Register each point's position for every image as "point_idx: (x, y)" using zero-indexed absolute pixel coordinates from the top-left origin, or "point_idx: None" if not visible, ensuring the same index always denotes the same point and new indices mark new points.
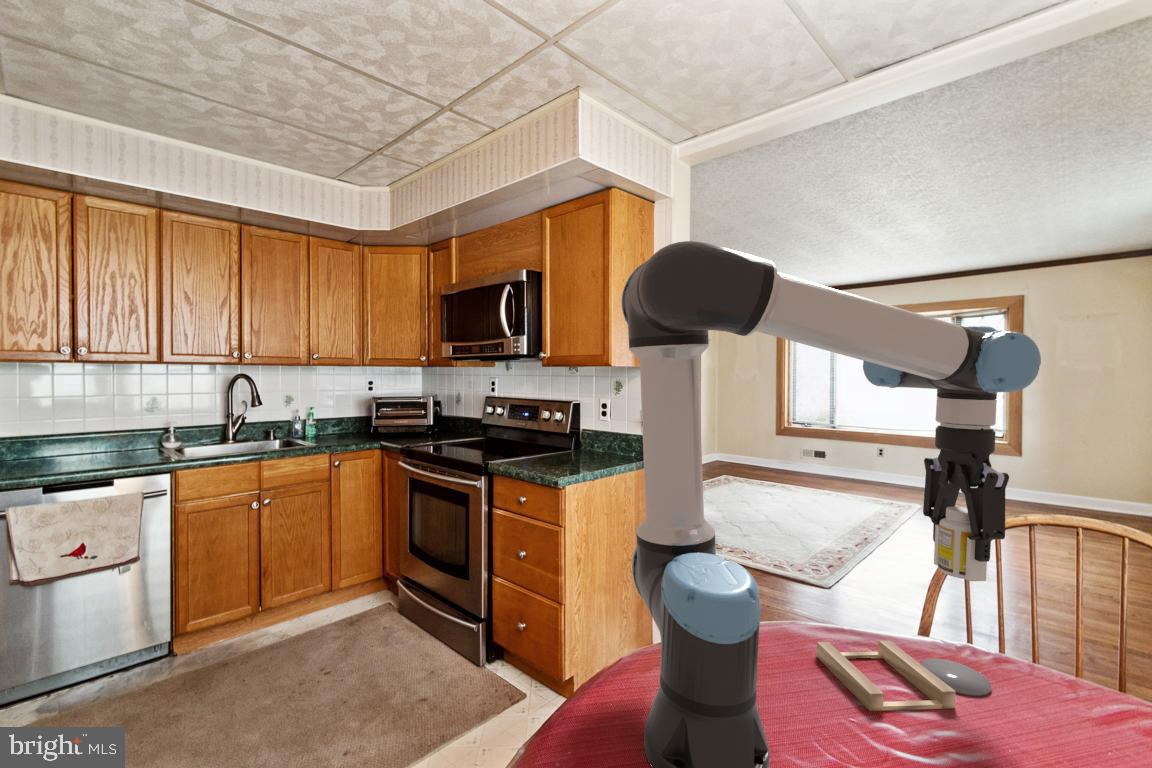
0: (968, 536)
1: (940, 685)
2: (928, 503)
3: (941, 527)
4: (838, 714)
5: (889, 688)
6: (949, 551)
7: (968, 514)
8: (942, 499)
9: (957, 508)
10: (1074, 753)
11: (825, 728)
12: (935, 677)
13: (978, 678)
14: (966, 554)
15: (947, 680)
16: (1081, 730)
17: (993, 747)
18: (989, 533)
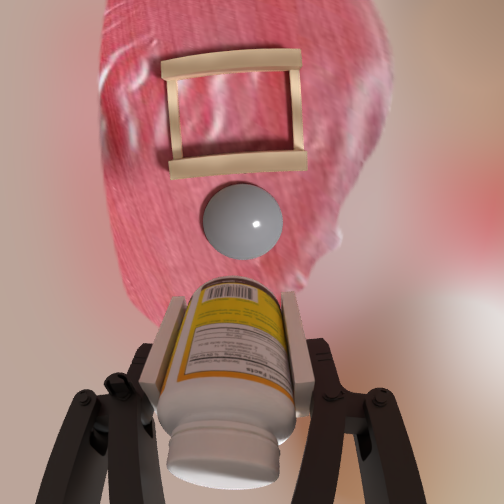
0: (128, 379)
1: (182, 167)
2: (379, 439)
3: (235, 373)
4: (163, 30)
5: (216, 114)
6: (201, 318)
7: (137, 457)
8: (298, 492)
9: (245, 477)
10: (120, 249)
11: (141, 13)
12: (202, 173)
13: (234, 248)
14: (168, 340)
15: (227, 203)
16: (156, 285)
17: (116, 174)
18: (72, 404)
